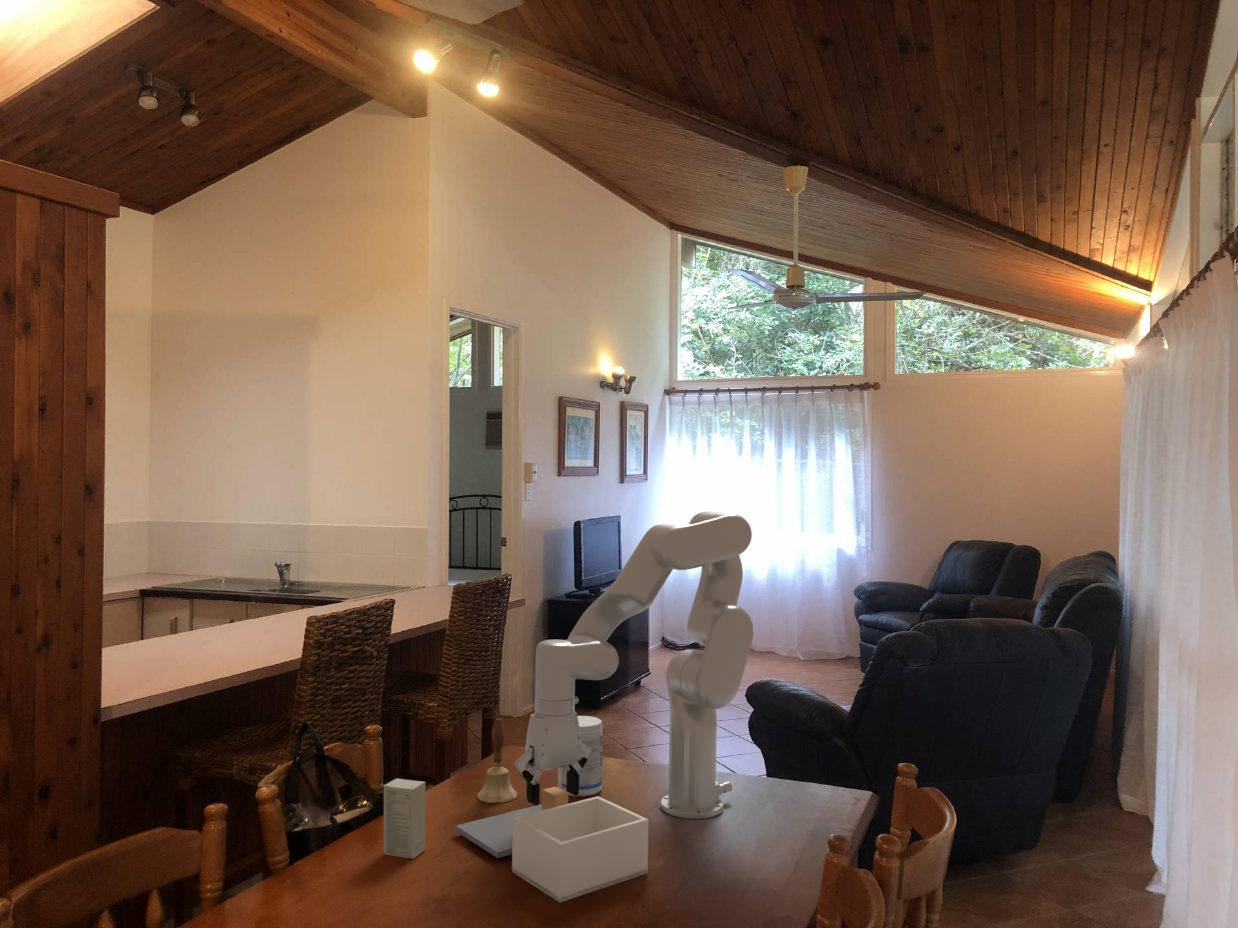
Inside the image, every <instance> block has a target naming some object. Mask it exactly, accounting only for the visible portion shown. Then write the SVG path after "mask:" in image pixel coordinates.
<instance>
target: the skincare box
mask: <svg viewBox="0 0 1238 928" xmlns="http://www.w3.org/2000/svg"><path fill="white" fill-rule="evenodd" d="M426 806H427V805H426V781H421V780H416V779H415V780H414V779H413V780H412V779H406V778H405V779H404V778H398V777H397V778H395V779H392V780H391V781H389V782H387V783H385V784H383V854H384V855H387V856H392V857H399V858H406V859H413V860H414V859H415V858H416V857H418V856H419V855H420V854H421V853H423V852H424V851H425V850H427V847H426V845H427V844H426V843H427V842H426V837H427V836H426V835H427V834H426V833H427V832H426V825H427V823H426V818H427V817H426V816H427V815H426V810H427V809H426Z"/></svg>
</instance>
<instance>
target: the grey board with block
mask: <svg viewBox="0 0 1238 928" xmlns="http://www.w3.org/2000/svg"><path fill="white" fill-rule="evenodd" d="M541 792H542V794H541V795H542V797H541V798H542V799H541V804H540V803H539V805H537V806H535V805H532V806H528V807H524V808H521V809H516V810H512V811H510V812H505V813H502V814H501V813H500V814H498V815H497V814H496V815H494V816H493V815H492V816H489V817H488V816H487V817H485V818H481V819H477V820H473V821H469V822H465V823H464V822H463V823H460V824H457V825H455V832H456V833H458V834H459V835H461V836H462V837H464V838H466V839H468V841H471V842H472V843H473V844H475V845H477V846H478V847H479V848H480V849H483V850H484V851H485V852H487V853H489V854H491V856H494V857H495V858H497V859H499V858H505V857H507V856H512V843H513V818H515V817H519V816H522V815H526V814H530V813H534V812H538V811H542V810H546V809H550V808H554V807H558V806H562V805H566V804H569V795H568V792H566V791H564V790H562V789H560V788H558V786H551V787H548V788H543V789H542V791H541Z"/></svg>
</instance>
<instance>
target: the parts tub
mask: <svg viewBox="0 0 1238 928" xmlns="http://www.w3.org/2000/svg"><path fill="white" fill-rule="evenodd" d="M511 859H512V860H511V872H512V873H513V874H515V876H516V875H517V876H518V877H519V878H520V879H522V880H524V881H525V882H527V883H528V884H530V885H531V886H533V887H534V888H536V889H537V890H539V891H541V892H543V893H544V894H546V895H547V896H548V897H550V898H552V899H553V900H555V901H557V902H558V903H559V904H560V903H564V902H566V901H569V900H571V899H572V900H573V899H574V898H578V897H580V896H583V895H587V894H591V893H593V892H596V891H599V890H602V889H604V888H607V887H611V886H614V885H617V884H620V883H623V882H626V881H628V880H632V879H635V878H638V877H641V876H643V875H647V874H648V873H649V871H648V870H649V868H648V866H649V819H648V818H647V817H644V816H641V815H640V814H638V813H635V812H633V811H630V810H629V809H627V808H624V807H622V806H620V805H618V804H616V803H614V802H611V801H609V800H608V799H605V798H603V797H601V796H595V797H594V796H592V797H590V798H586V799H582V800H581V799H580V800H578V801H573V802H570V803H569V802H568V804H566V805H562V806H558V807H554V808H550V809H546V810H542V811H538V812H534V813H530V814H526V815H522V816H519V817H515V818H513V843H512V854H511Z"/></svg>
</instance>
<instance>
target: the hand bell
mask: <svg viewBox="0 0 1238 928" xmlns="http://www.w3.org/2000/svg"><path fill="white" fill-rule="evenodd" d="M491 739H492V745H493V752H494V753H493V763H492V764H493V765H492V767H490V768H488V769H487V770H486V776H485V781H484V783H483V784H484V785H483V787H482V788H481V790H480V791H479V792H478V794H477V795H476V798H477V799H478V800H479V801H481V802H484V803H490V804H501V803H502V804H503V803H508V802H510V801H514V800H515V799H516V798H518V793H517V791H516V790H515V789H514V788H513V786H512V784H511V781H510V777H509V770H508V769H507V768H505V767H504V766H503V764H502V763H503V762H502V757H503V756H502V754H503V753H502V750H503V745H504V742H505V727H504V724H503V719H502V718H495V719H494V724H493V727H492V731H491Z"/></svg>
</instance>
